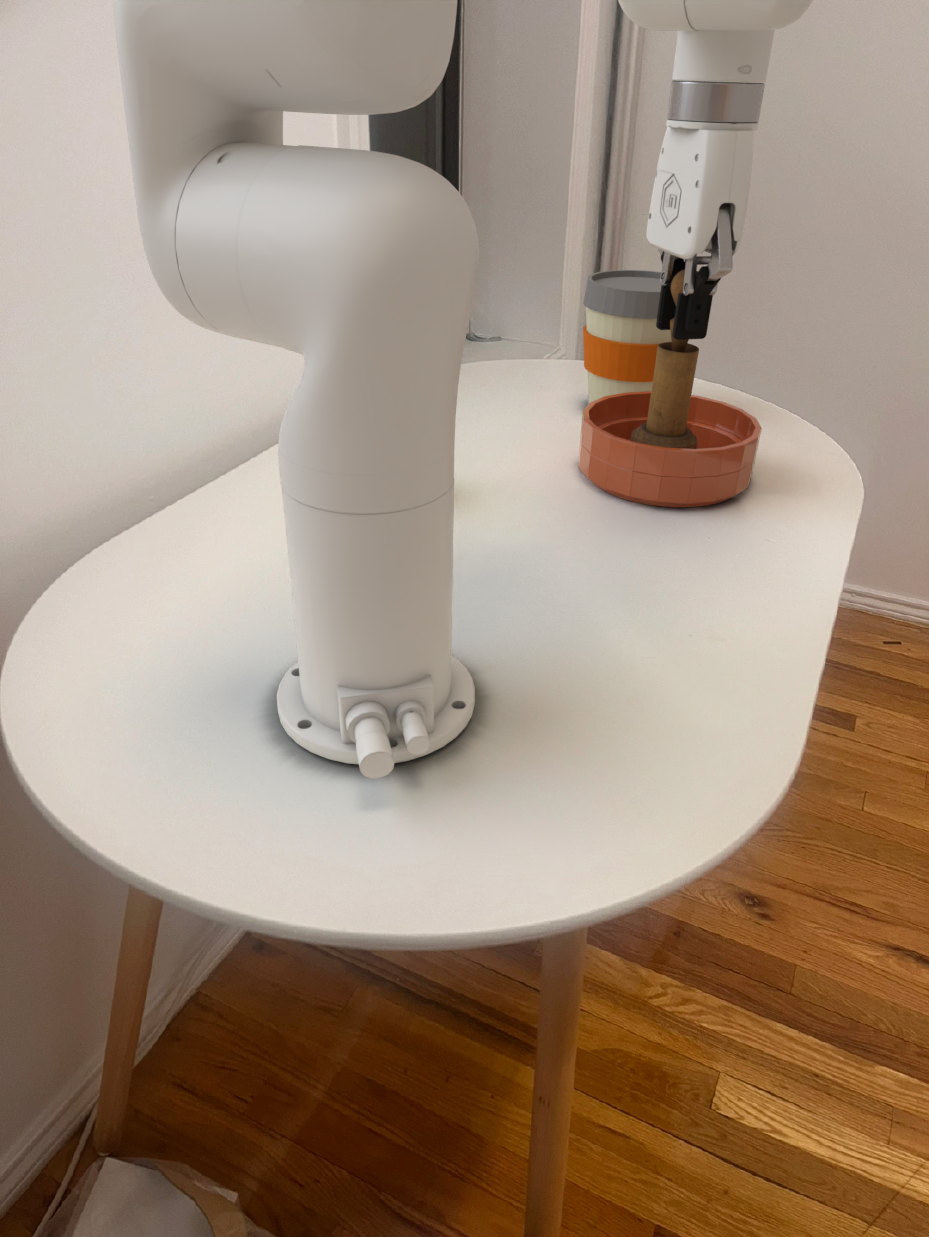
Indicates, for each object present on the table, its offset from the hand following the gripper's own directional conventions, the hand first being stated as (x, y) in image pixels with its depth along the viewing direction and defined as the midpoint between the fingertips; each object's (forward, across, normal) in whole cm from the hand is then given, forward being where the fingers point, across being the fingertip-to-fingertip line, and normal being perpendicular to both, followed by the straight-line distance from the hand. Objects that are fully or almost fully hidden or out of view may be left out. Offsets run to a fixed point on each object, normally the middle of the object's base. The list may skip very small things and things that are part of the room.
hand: (680, 331), depth 83 cm
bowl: (+14, 0, 0) cm, 14 cm away
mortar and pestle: (+13, 0, 0) cm, 13 cm away
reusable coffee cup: (+14, -20, +4) cm, 25 cm away
